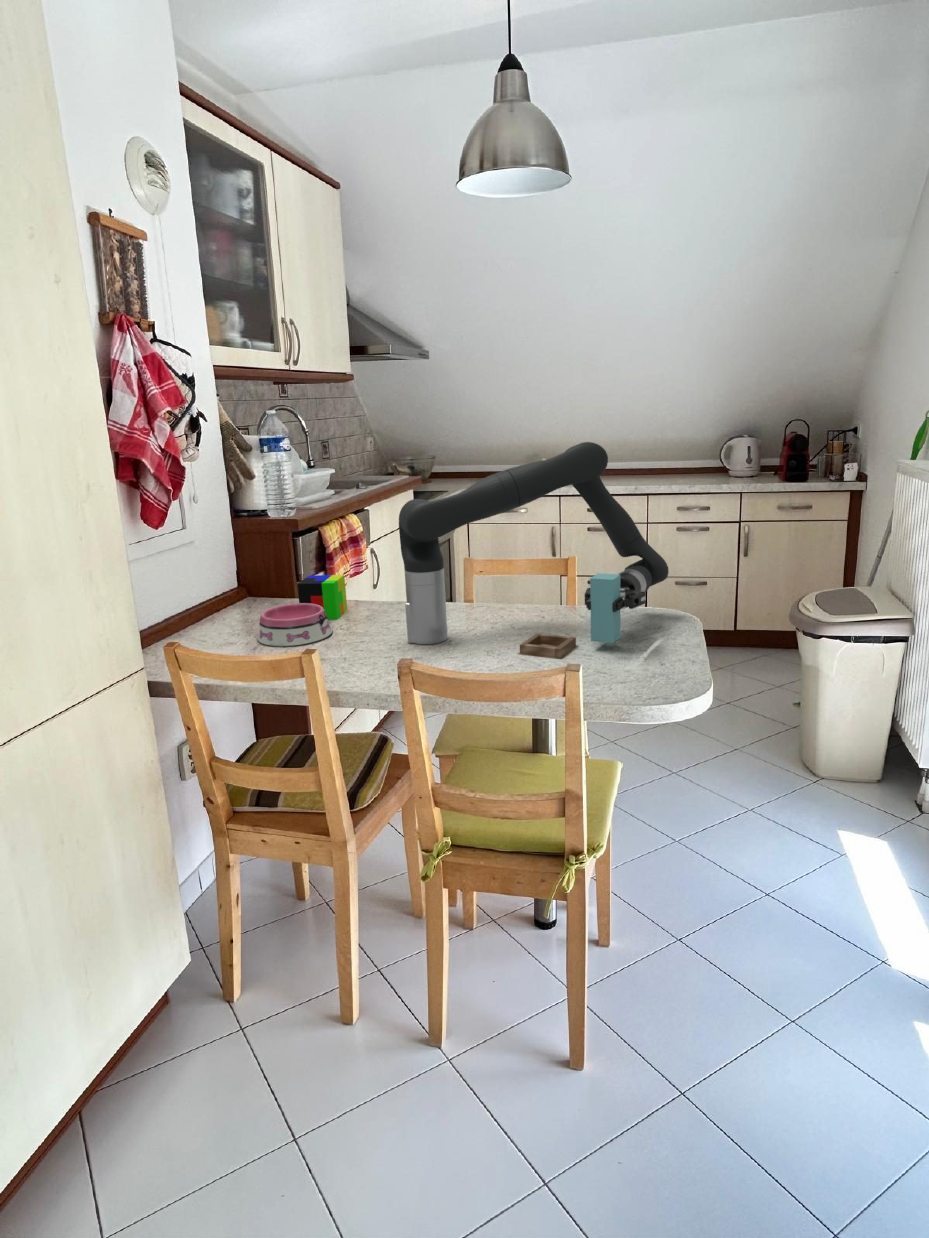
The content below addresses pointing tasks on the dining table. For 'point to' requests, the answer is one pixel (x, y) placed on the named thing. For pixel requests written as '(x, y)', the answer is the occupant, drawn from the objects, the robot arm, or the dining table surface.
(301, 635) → the dog bowl
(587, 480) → the robot arm
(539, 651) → the square wooden tray
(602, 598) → the block
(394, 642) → the dining table surface
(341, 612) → the puzzle toy
